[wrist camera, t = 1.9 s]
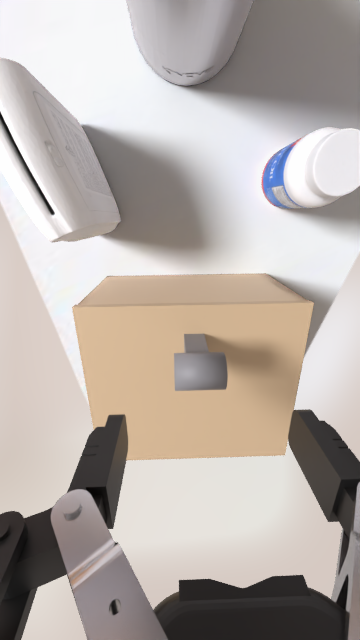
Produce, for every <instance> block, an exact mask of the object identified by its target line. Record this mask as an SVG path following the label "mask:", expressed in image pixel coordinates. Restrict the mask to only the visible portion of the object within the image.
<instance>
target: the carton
mask: <svg viewBox="0 0 360 640" xmlns="http://www.w3.org/2000/svg"><path fill="white" fill-rule="evenodd" d="M305 300H306V299H305V298H303V297H302V296H300V295H299V294H297V293H295V292H294V291H292V290H291V289H289V288H288V287H286V286H284V285H283V284H281V283H280V282H278V281H277V280H275V279H274V278H272V277H270V276H269V275H267V274H207V275H148V276H107V277H106V278H105V279H104V280H103V281H102V282H101V283H100V284H99V285H98V286H97V287H96V288H95V289H94V290H92V291H91V292H90V293H89V294H88V295H87V296H86V297H85V298H84V299H83V300H82V301H81V302H80V303H79V304H78V305H96V304H149V303H201V302H253V301H305Z"/></svg>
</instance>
